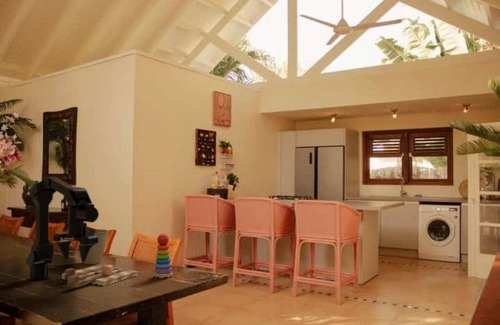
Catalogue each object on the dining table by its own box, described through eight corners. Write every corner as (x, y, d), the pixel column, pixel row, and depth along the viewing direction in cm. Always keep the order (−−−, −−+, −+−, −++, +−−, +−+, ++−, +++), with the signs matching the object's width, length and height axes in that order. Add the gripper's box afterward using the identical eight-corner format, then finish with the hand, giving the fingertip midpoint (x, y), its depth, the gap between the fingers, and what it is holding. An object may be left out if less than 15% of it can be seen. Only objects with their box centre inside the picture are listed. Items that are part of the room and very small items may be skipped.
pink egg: (106, 275, 176) (107, 267, 176) (99, 274, 178) (99, 266, 178) (114, 273, 180) (114, 265, 180) (106, 272, 182) (107, 264, 182)
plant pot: (113, 260, 217) (114, 229, 218) (95, 267, 203) (96, 233, 203) (88, 258, 221) (89, 228, 222) (69, 264, 207) (70, 232, 207)
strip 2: (72, 287, 161) (73, 277, 161) (67, 286, 162) (67, 276, 162) (114, 275, 181) (114, 267, 181) (109, 275, 182) (109, 266, 182)
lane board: (101, 286, 167) (101, 280, 167) (58, 279, 178) (58, 273, 178) (137, 275, 187) (137, 270, 187) (97, 269, 197) (97, 264, 197)
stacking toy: (164, 273, 192) (165, 232, 193) (175, 276, 187) (177, 233, 188) (150, 276, 186) (151, 233, 187) (161, 279, 181) (162, 235, 182)
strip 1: (69, 279, 173) (69, 270, 173) (64, 278, 174) (64, 269, 174) (108, 269, 193) (109, 261, 193) (104, 268, 194) (104, 260, 194)
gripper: (109, 220, 167) (108, 259, 167) (75, 217, 175) (74, 255, 175) (87, 222, 157) (86, 264, 157) (52, 219, 165) (51, 259, 165)
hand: (74, 260), depth 164 cm, fingers open, 9 cm apart
